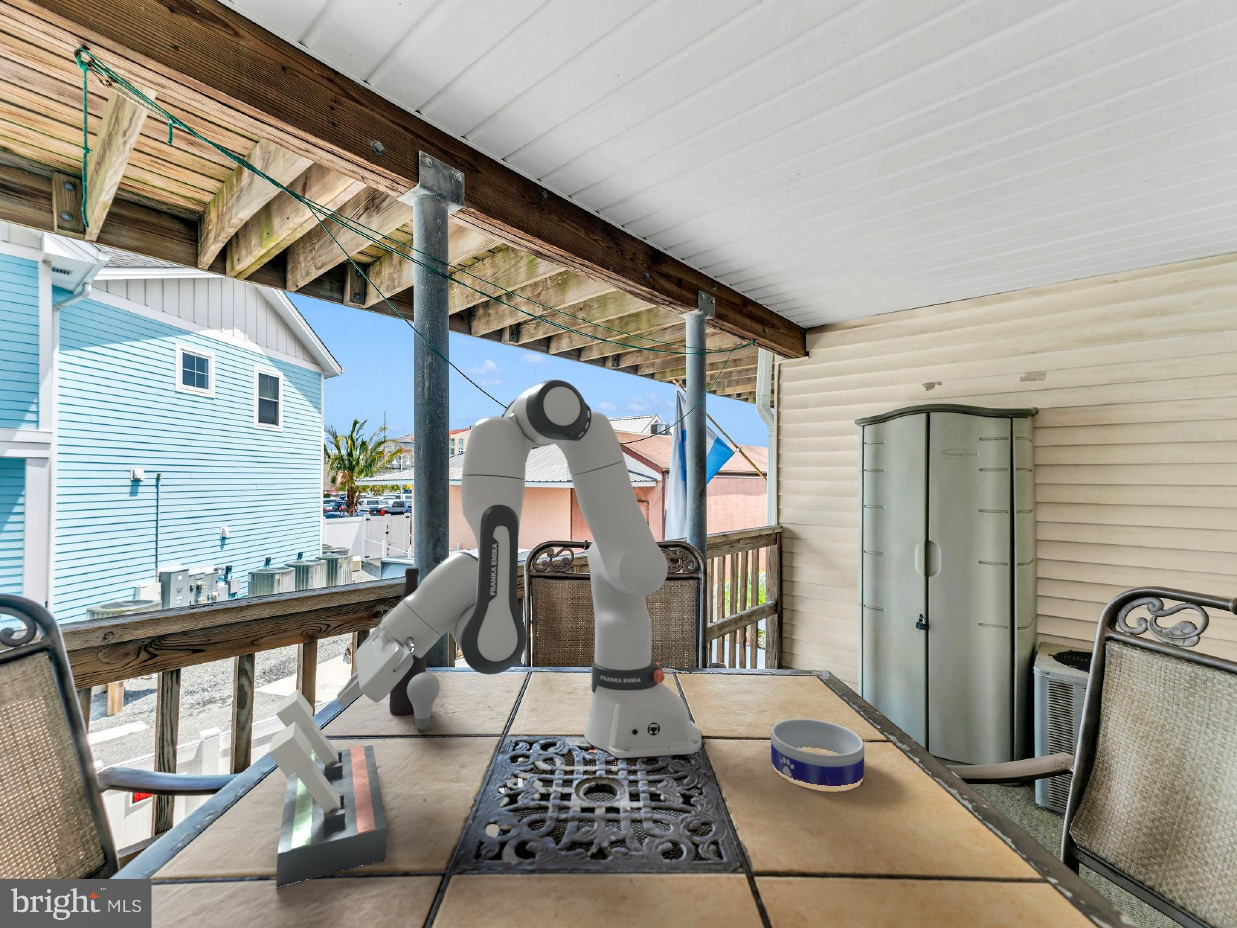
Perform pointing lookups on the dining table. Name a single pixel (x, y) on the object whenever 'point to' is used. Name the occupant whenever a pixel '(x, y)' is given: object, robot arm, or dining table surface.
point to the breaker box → (333, 821)
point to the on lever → (303, 766)
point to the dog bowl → (816, 765)
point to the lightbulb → (423, 697)
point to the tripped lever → (306, 725)
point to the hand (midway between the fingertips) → (340, 702)
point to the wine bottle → (399, 692)
